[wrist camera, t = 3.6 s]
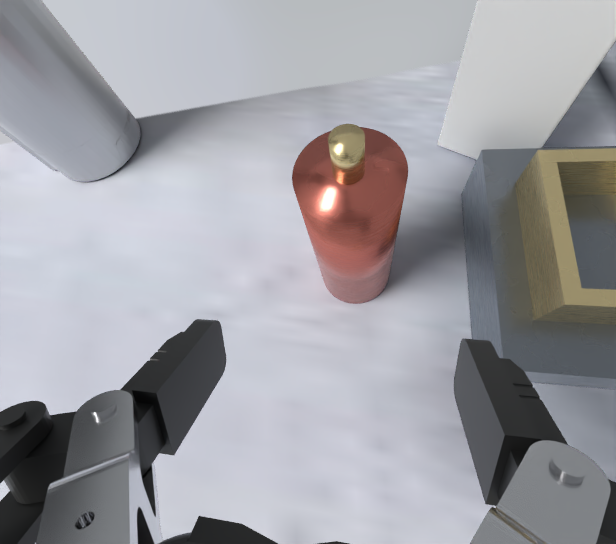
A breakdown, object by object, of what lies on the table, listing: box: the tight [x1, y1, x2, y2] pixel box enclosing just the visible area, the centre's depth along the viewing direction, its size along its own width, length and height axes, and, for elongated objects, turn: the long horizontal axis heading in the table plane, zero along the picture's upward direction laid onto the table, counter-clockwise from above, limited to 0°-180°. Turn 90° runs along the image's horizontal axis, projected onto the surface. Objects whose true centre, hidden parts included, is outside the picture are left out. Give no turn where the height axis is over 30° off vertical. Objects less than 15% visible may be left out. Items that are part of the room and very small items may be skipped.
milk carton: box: [438, 0, 616, 160], centre depth 20 cm, size 7×7×19 cm
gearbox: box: [462, 146, 616, 390], centre depth 19 cm, size 13×14×8 cm
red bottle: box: [292, 124, 408, 304], centre depth 19 cm, size 5×5×14 cm
